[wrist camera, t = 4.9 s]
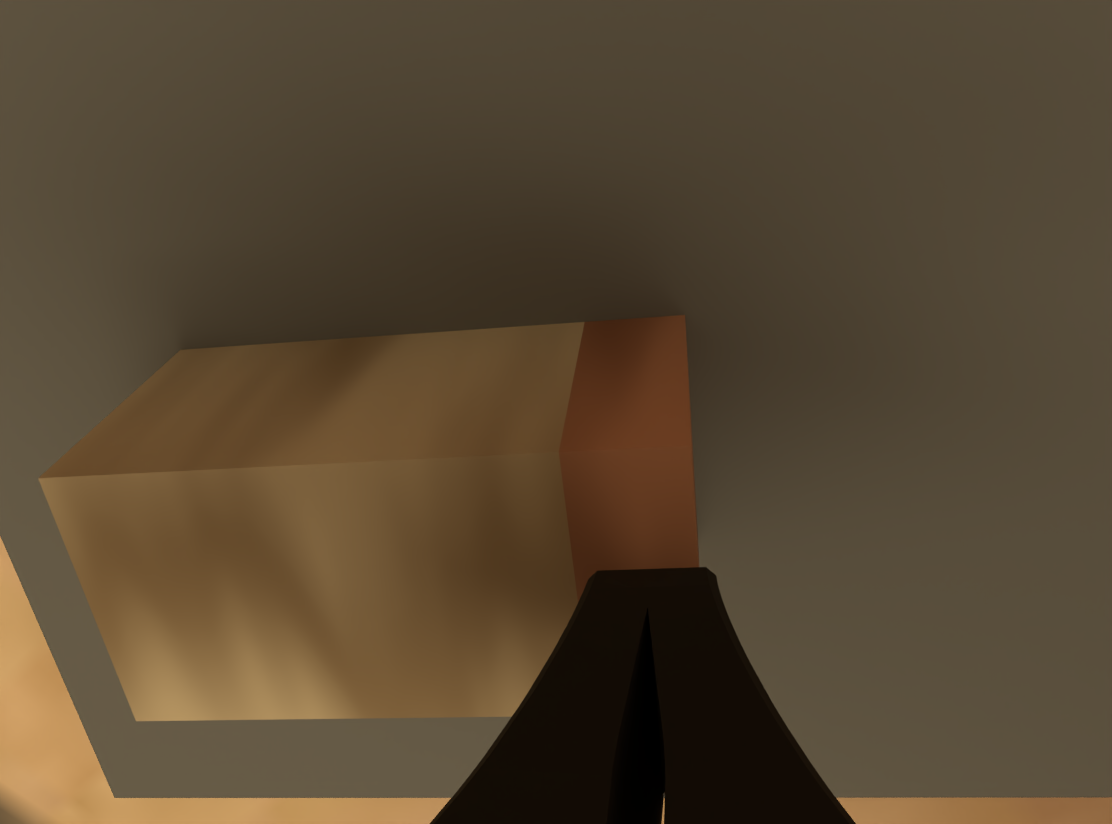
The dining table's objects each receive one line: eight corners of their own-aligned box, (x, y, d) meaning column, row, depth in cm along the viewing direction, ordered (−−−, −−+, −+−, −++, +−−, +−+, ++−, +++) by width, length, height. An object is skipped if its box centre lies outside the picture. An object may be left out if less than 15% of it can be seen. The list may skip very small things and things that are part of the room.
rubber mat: (1116, 776, 18) (1127, 797, 18) (126, 778, 21) (114, 797, 21) (1313, -234, 11) (1339, -241, 11) (-216, -28, 14) (-244, -26, 14)
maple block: (707, 713, 13) (136, 721, 14) (698, 539, 16) (244, 556, 17) (691, 445, 11) (37, 478, 12) (685, 314, 14) (180, 350, 16)
